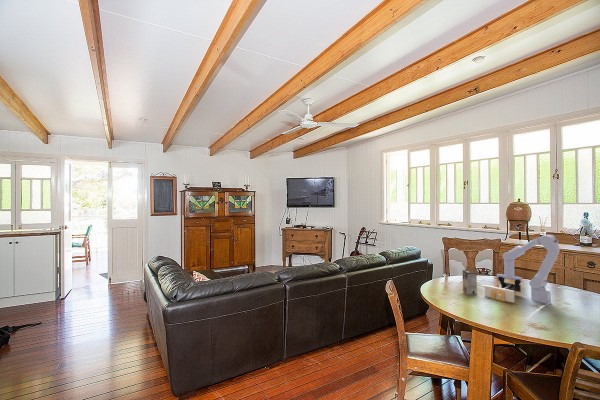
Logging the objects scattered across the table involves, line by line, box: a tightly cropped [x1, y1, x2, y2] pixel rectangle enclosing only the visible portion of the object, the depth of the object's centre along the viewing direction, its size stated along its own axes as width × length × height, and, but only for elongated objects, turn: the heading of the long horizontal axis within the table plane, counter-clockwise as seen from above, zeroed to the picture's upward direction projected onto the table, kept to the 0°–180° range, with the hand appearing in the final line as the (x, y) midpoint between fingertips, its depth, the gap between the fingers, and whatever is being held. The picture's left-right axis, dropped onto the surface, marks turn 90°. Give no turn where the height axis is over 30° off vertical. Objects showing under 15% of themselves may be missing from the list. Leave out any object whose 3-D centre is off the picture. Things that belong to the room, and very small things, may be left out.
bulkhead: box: [484, 284, 515, 304], centre depth 188 cm, size 16×2×9 cm, turn 36°
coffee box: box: [462, 269, 478, 295], centre depth 202 cm, size 9×6×16 cm
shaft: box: [500, 281, 522, 293], centre depth 195 cm, size 11×18×4 cm, turn 126°
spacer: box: [491, 290, 506, 302], centre depth 187 cm, size 7×2×7 cm, turn 36°
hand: (509, 289), depth 199 cm, fingers open, 7 cm apart
